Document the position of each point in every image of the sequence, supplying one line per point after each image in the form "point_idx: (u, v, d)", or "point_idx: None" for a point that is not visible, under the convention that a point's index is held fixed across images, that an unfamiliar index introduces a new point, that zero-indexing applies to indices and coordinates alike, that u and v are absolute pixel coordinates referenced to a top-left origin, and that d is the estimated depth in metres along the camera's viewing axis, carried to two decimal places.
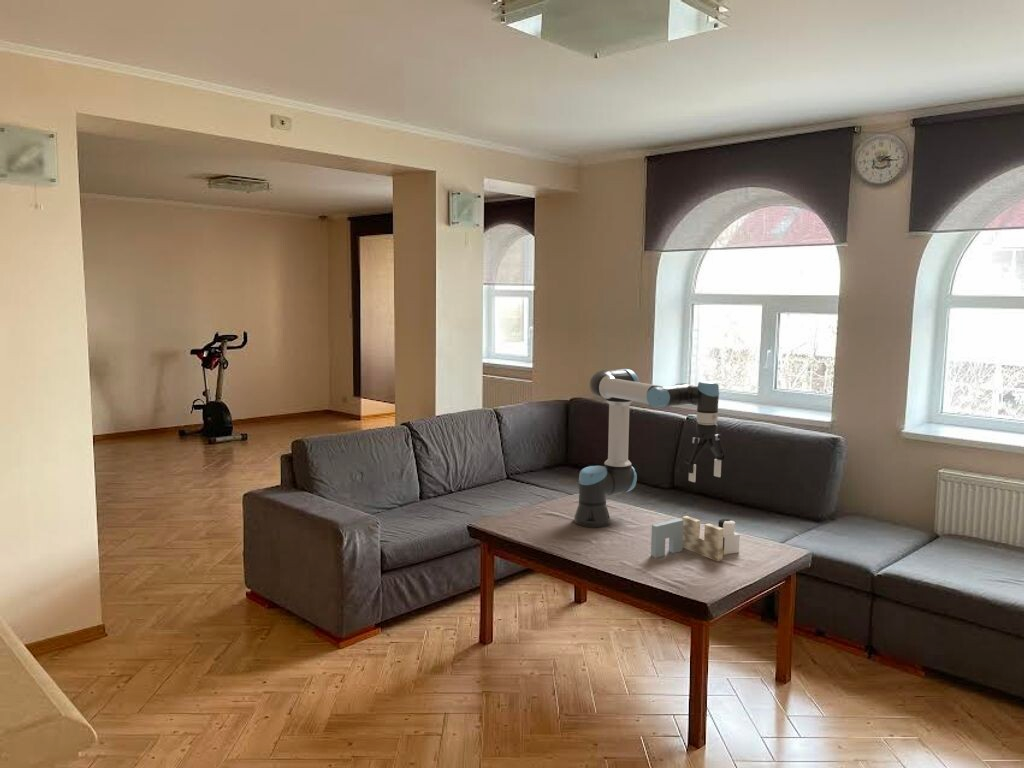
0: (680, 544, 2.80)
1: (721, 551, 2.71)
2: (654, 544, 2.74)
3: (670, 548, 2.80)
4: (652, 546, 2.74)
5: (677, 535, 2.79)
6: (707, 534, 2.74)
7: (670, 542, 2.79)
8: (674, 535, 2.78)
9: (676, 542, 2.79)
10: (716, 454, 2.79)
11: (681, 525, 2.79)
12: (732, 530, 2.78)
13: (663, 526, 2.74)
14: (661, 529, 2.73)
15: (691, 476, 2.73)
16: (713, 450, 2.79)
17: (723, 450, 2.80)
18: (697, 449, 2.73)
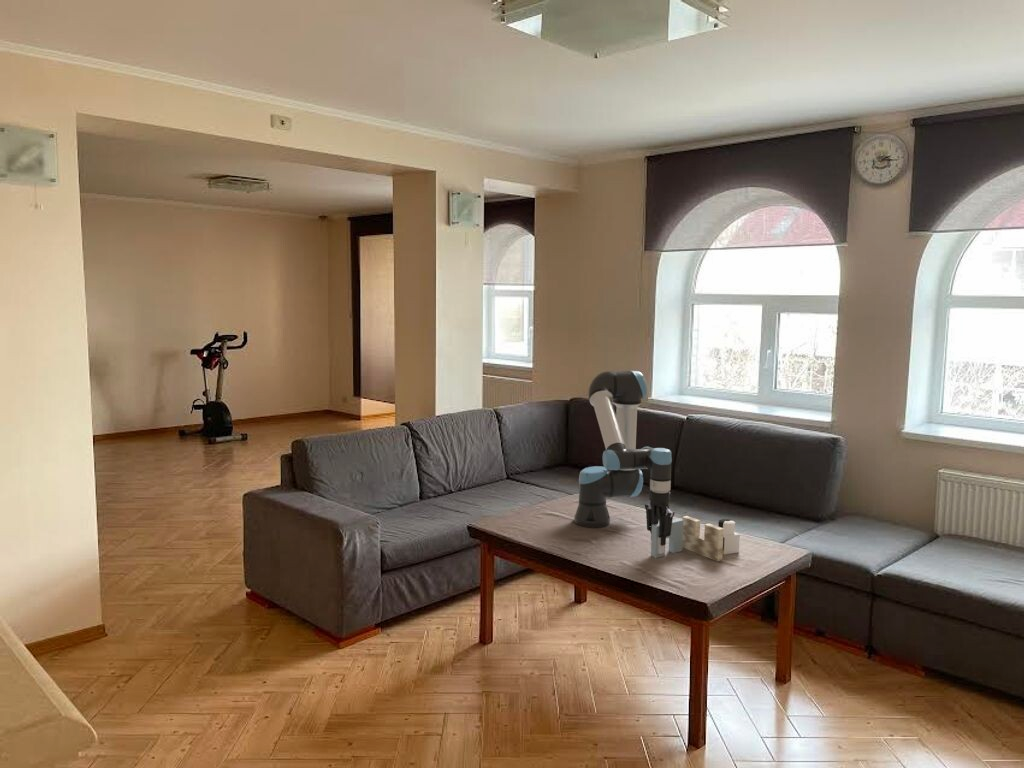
0: (680, 544, 2.80)
1: (721, 551, 2.71)
2: (654, 544, 2.74)
3: (670, 548, 2.80)
4: (652, 546, 2.74)
5: (677, 535, 2.79)
6: (707, 534, 2.74)
7: (670, 542, 2.79)
8: (674, 535, 2.78)
9: (676, 542, 2.79)
10: None
11: (681, 525, 2.79)
12: (732, 530, 2.78)
13: None
14: None
15: None
16: None
17: (665, 528, 2.70)
18: None
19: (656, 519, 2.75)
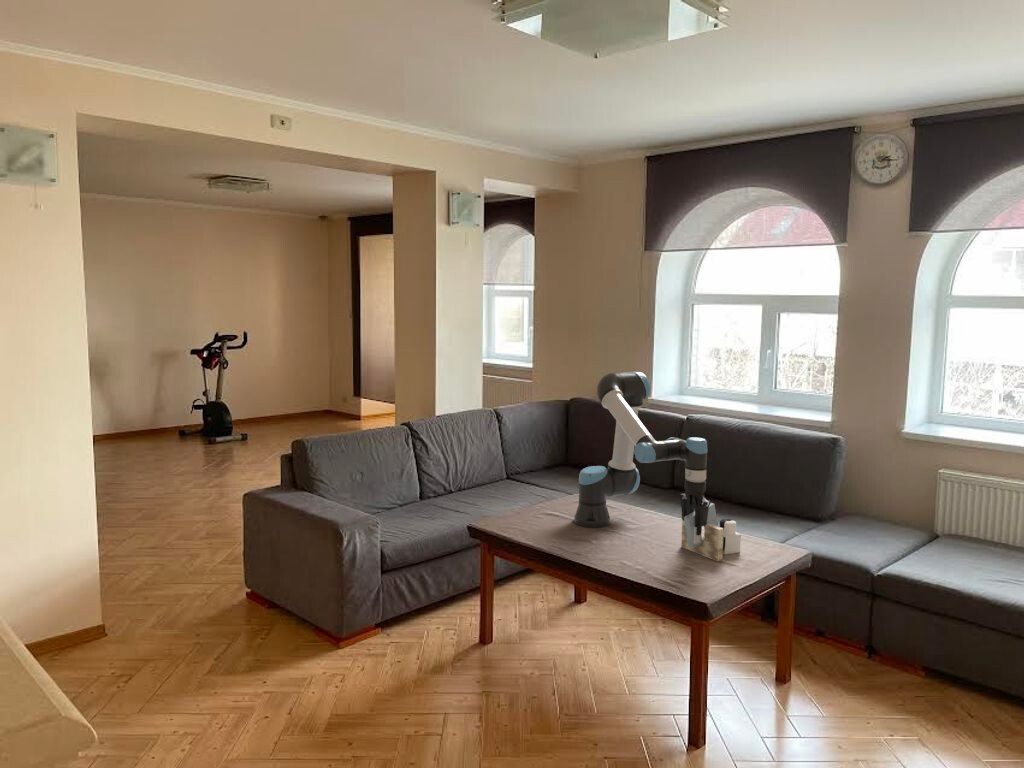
0: None
1: (721, 551, 2.71)
2: (689, 536, 2.73)
3: None
4: (688, 537, 2.74)
5: (711, 519, 2.77)
6: (707, 534, 2.74)
7: None
8: (708, 520, 2.76)
9: None
10: None
11: (713, 509, 2.77)
12: (733, 530, 2.78)
13: None
14: (694, 519, 2.72)
15: None
16: None
17: (701, 518, 2.69)
18: None
19: (691, 509, 2.74)
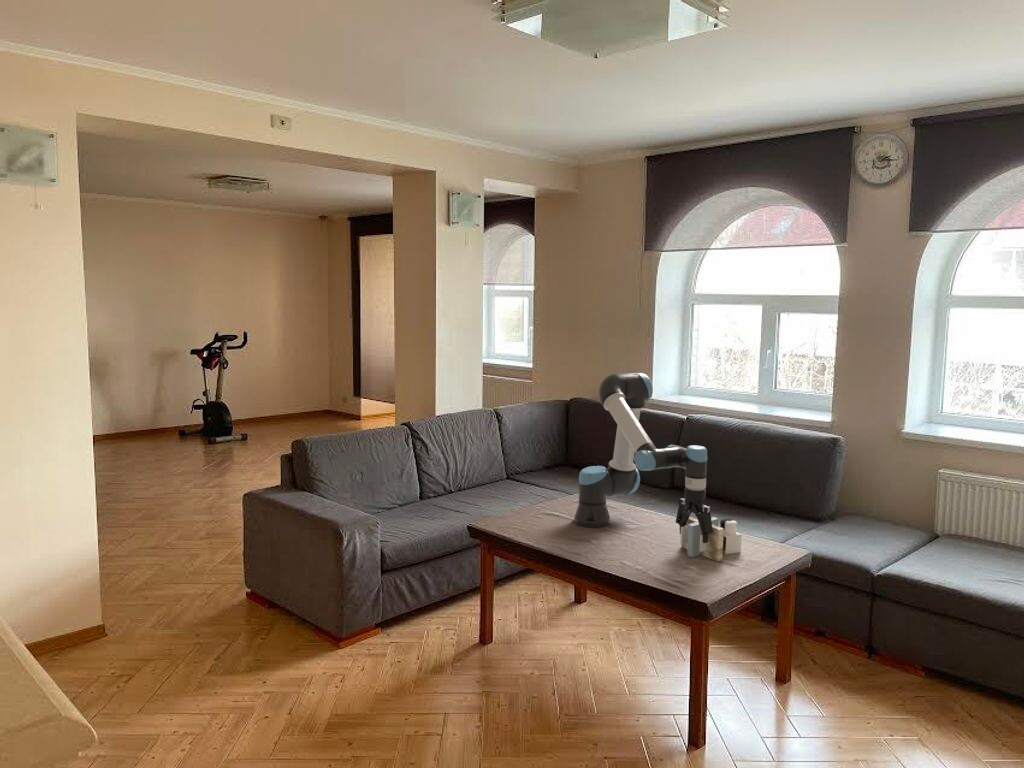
0: None
1: (721, 551, 2.71)
2: (690, 544, 2.74)
3: None
4: (688, 546, 2.75)
5: None
6: None
7: None
8: None
9: None
10: None
11: (716, 523, 2.80)
12: (734, 530, 2.78)
13: (699, 525, 2.74)
14: (697, 528, 2.74)
15: None
16: None
17: (706, 525, 2.68)
18: None
19: (688, 515, 2.76)
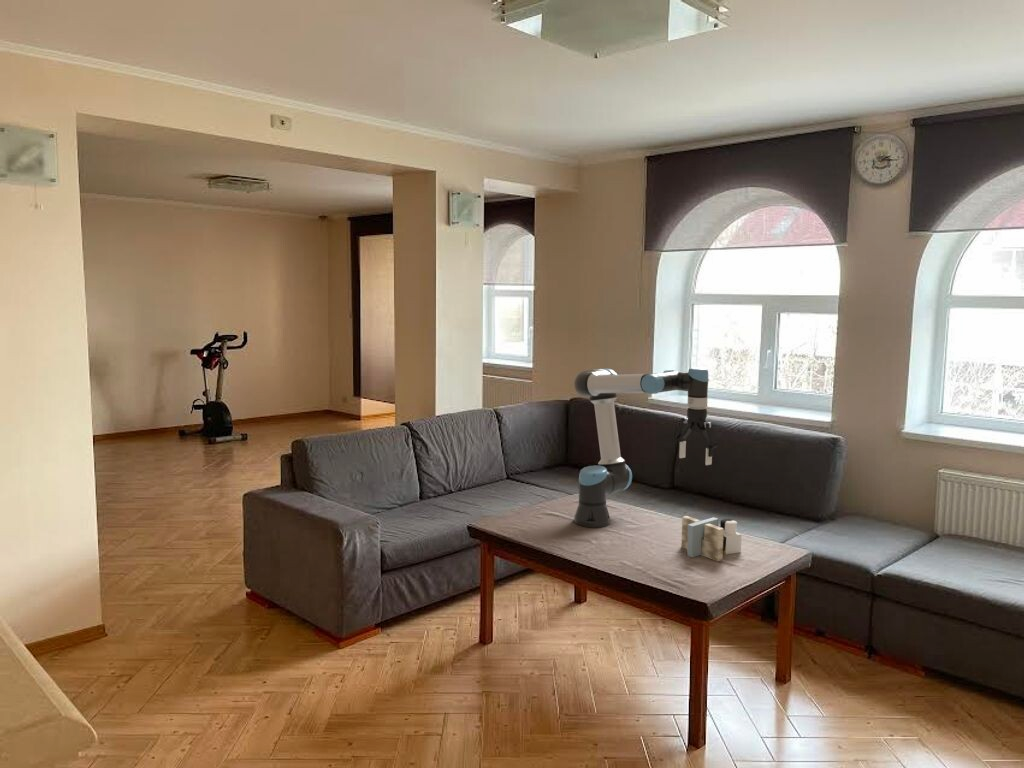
0: None
1: (721, 551, 2.71)
2: (690, 544, 2.74)
3: None
4: (688, 546, 2.75)
5: None
6: (707, 534, 2.74)
7: None
8: None
9: None
10: None
11: (716, 524, 2.80)
12: (734, 530, 2.78)
13: (699, 525, 2.74)
14: (697, 528, 2.74)
15: None
16: None
17: (710, 439, 2.81)
18: None
19: (688, 432, 2.92)
